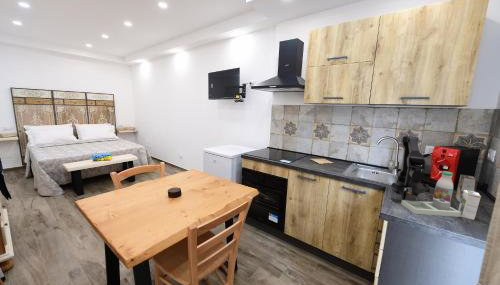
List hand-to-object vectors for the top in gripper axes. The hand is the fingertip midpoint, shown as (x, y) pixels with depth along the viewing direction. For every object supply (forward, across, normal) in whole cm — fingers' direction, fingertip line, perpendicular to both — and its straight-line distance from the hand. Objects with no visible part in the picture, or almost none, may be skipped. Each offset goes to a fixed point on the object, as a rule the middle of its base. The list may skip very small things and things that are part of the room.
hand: (407, 200), depth 123 cm
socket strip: (+2, +5, -10) cm, 11 cm away
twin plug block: (0, +10, -10) cm, 14 cm away
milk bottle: (+2, +22, +3) cm, 22 cm away
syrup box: (+2, +21, -14) cm, 25 cm away
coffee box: (+2, +41, +9) cm, 42 cm away
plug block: (+2, 0, 0) cm, 2 cm away
